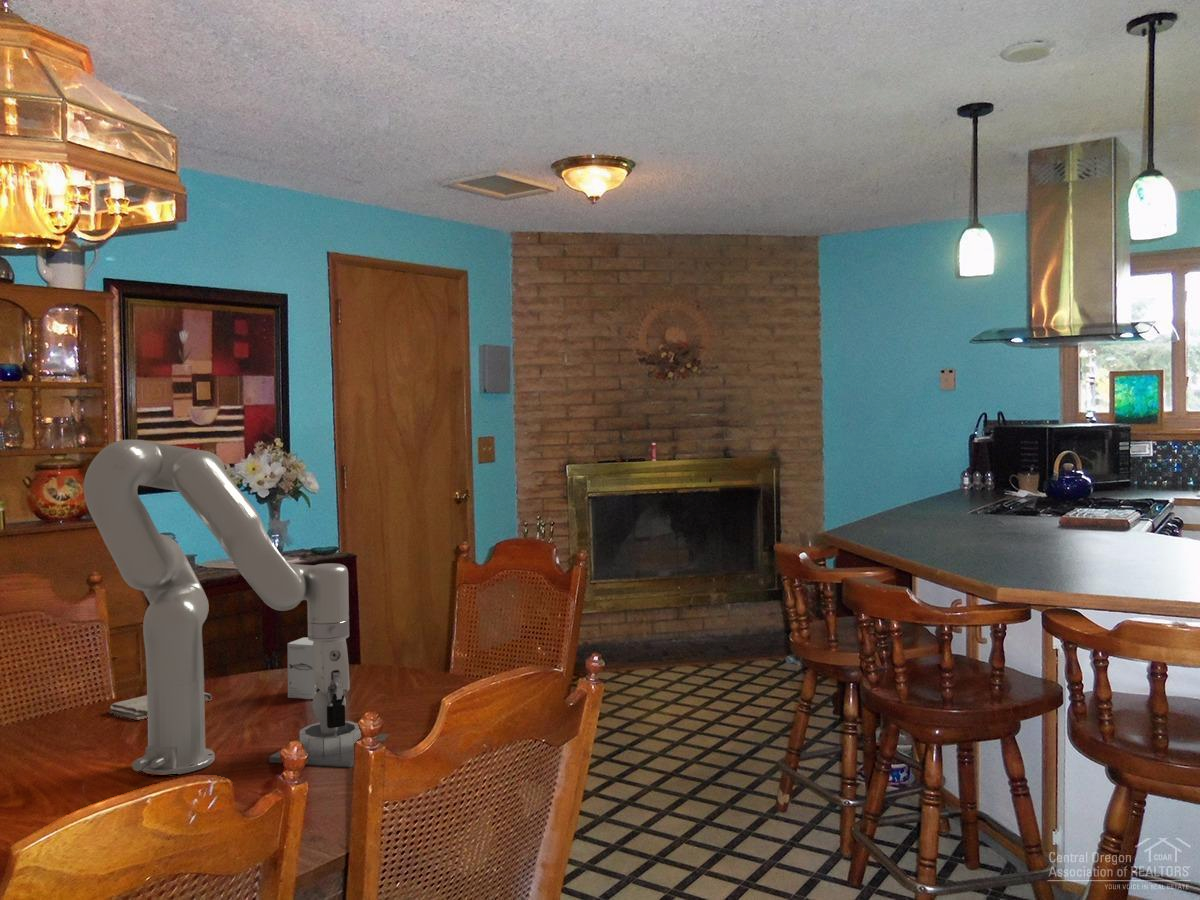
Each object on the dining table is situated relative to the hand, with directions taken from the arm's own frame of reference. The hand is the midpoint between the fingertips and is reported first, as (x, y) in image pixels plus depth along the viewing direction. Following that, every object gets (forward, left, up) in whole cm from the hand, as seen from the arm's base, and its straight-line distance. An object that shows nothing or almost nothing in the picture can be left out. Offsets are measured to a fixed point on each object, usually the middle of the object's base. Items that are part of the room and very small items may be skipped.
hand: (330, 720), depth 182 cm
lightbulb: (0, 0, -5) cm, 5 cm away
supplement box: (+35, +23, -6) cm, 42 cm away
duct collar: (0, 0, -6) cm, 6 cm away
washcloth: (+20, +51, -6) cm, 55 cm away
